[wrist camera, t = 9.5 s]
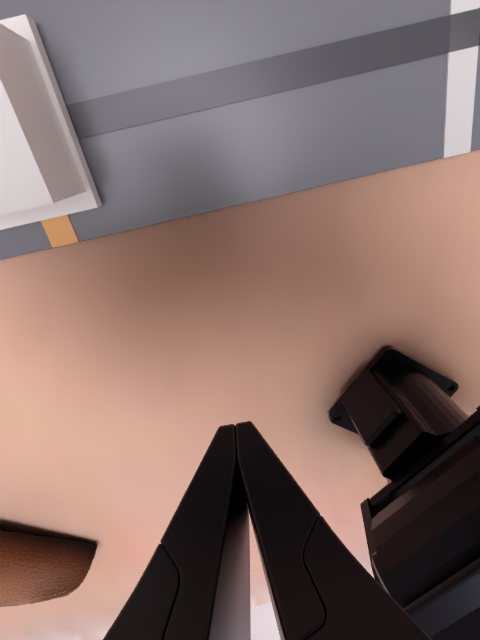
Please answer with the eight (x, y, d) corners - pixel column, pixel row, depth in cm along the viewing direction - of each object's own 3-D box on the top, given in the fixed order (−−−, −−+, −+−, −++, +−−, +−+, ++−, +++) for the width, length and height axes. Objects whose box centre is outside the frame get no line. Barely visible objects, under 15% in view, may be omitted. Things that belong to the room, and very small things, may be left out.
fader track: (566, -128, 14) (623, -172, 12) (529, 131, 18) (567, 129, 16) (-135, 39, 14) (-187, 23, 12) (-16, 257, 18) (-42, 269, 16)
